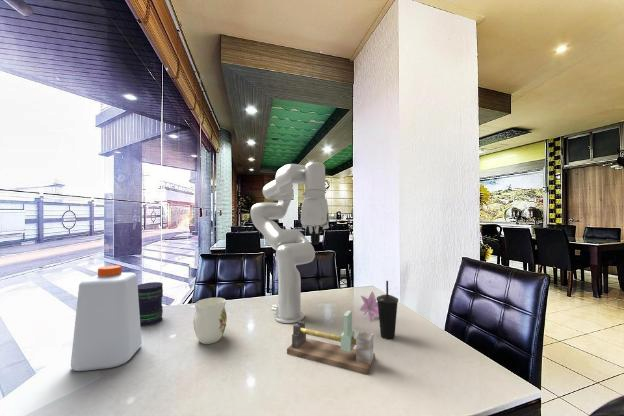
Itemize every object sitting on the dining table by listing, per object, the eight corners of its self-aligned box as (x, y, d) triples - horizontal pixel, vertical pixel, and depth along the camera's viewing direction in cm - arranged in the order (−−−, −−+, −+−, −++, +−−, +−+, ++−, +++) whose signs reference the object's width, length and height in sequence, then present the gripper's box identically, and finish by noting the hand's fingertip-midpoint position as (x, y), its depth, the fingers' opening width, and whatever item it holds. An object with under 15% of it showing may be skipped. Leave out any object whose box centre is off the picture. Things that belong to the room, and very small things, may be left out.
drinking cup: (400, 342, 91) (399, 284, 91) (377, 340, 92) (376, 283, 93) (397, 332, 98) (396, 278, 99) (376, 331, 100) (375, 277, 100)
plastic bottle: (145, 343, 91) (146, 261, 92) (124, 368, 76) (125, 270, 77) (95, 348, 88) (96, 263, 88) (62, 375, 73) (64, 273, 74)
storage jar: (129, 324, 107) (129, 287, 107) (151, 315, 116) (152, 281, 116) (145, 328, 103) (146, 289, 104) (168, 318, 112) (168, 283, 113)
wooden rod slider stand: (286, 353, 84) (286, 326, 84) (300, 341, 92) (300, 316, 92) (368, 374, 73) (367, 343, 73) (375, 358, 81) (374, 330, 81)
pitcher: (232, 326, 104) (232, 291, 104) (220, 350, 86) (220, 307, 86) (203, 327, 103) (204, 292, 103) (185, 351, 85) (185, 308, 86)
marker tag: (340, 349, 79) (340, 314, 79) (345, 343, 83) (345, 309, 83) (350, 352, 77) (350, 316, 78) (354, 345, 81) (354, 311, 82)
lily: (354, 323, 109) (364, 306, 106) (351, 303, 120) (359, 287, 117) (381, 331, 110) (391, 314, 107) (375, 310, 121) (384, 294, 118)
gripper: (293, 195, 100) (293, 244, 99) (329, 194, 93) (330, 246, 93) (302, 196, 107) (302, 242, 106) (337, 195, 100) (337, 243, 100)
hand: (315, 243), depth 100 cm, fingers closed
